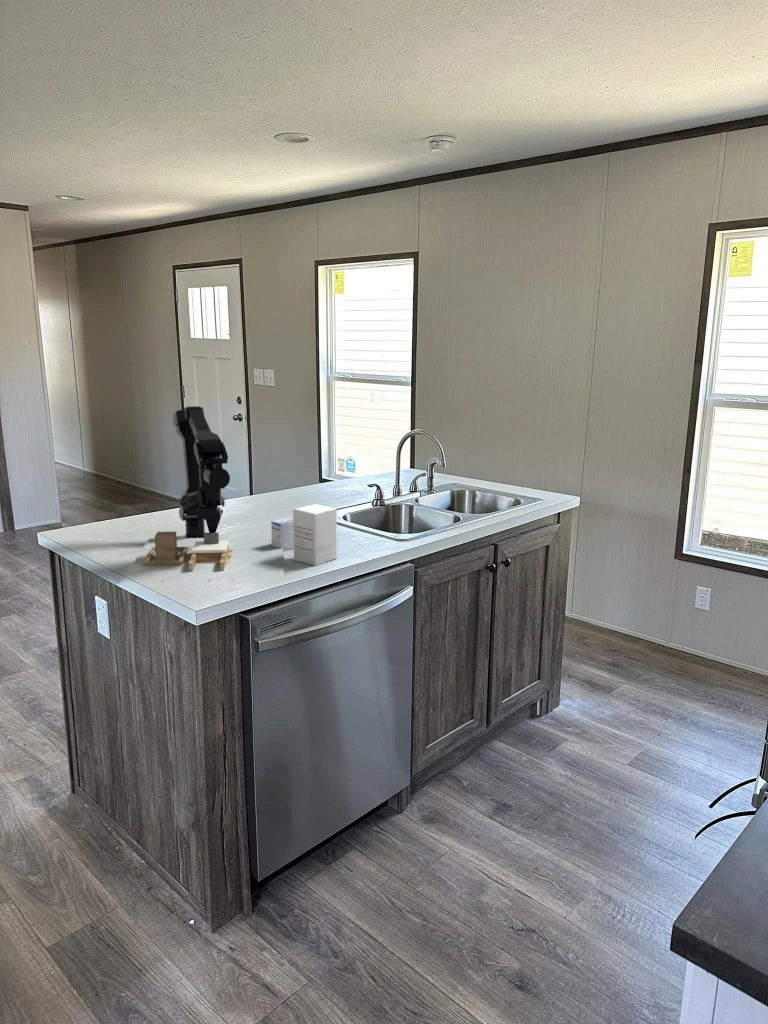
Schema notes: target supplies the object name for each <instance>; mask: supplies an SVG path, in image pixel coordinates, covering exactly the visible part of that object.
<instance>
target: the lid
mask: <svg viewBox="0 0 768 1024" xmlns="http://www.w3.org/2000/svg"><path fill="white" fill-rule="evenodd" d="M219 535H220V533H219V532H216V533H209V532H205V533H204V538H203V540H202V541H199V540H198V541H195V542H194V546H193V547H192V549H191V550H192V551H191V554H192V553H224V552H226V551H227V547H228V548H229V540H220V536H219Z"/></svg>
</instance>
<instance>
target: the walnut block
mask: <svg viewBox="0 0 768 1024" xmlns="http://www.w3.org/2000/svg"><path fill="white" fill-rule="evenodd" d="M177 540H178V539H177V531H175V530H174V531H157V532H156V533H155V535H154V547H155V551H156V552H155V561H175V560H176V559H177V556H178V551H177V547H178V542H177Z"/></svg>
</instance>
